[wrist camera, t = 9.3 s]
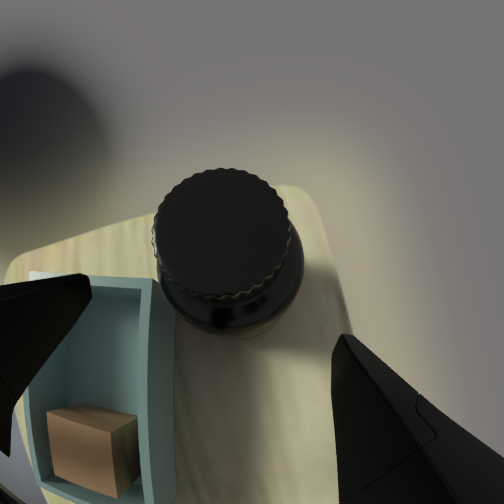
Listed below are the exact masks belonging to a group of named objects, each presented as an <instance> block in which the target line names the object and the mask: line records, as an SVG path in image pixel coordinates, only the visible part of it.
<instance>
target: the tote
mask: <svg viewBox="0 0 504 504" xmlns="http://www.w3.org/2000/svg"><path fill="white" fill-rule="evenodd" d="M64 275H71V274H60V273H46V272H33V271H30V276H29V281H32V280H39V279H45V278H51V277H58V276H64ZM87 276H88V277H89V279H90V284H91V290H92V299H91V301H90V303H89V304H88V306H87V307H86V309H85V310H84V312H83V313H82V315H81V316H80V318H79V319H78V321H77V322H76V324H75V325H74V327H73V328H72V329H71V331H70V332H69V333H68V334H67V335H66V337H65V338H64V339H63V340H62V342H61V343H60V344H59V346H58V347H57V348H56V349H55V351H54V352H53V353H52V355H51V356H50V357H49V358H48V360H47V361H46V362H45V364H44V365H43V366H42V368H41V369H40V370H39V372H38V373H37V374H36V376H35V377H34V379H33V380H32V381H31V383H30V384H29V386H28V387H27V388H26V390H25V391H24V393H23V400H24V412H25V422H26V430H27V437H28V444H29V450H30V455H31V461H32V465H33V470H34V475H35V479H36V483H37V485H38V486H40V487H42V488H44V489H46V490H48V491H50V492H52V493H54V494H56V495H58V496H61V497H63V498H65V499H67V500H69V501H72V502H74V503H76V504H172V503H173V501H174V499H175V497H176V495H177V482H176V466H175V444H174V347H175V323H176V313H175V311H174V310H173V309H172V308H171V307H170V305H169V304H168V302H167V301H166V299H165V297H164V295H163V293H162V290H161V288H160V284H159V283H158V282H157V281H155V280H154V279H148V278H126V277H107V276H90V275H87ZM80 403H87V404H91V405H94V406H98V407H102V408H106V409H110V410H115V411H119V412H123V413H128V414H133V415H138V437H139V452H140V465H141V475H140V476H139V477H138V478H137V480H136V481H135V482H134V483H133V484H132V485H131V486H130V487H129V488H128V489H127V490H126V491H125V492H124V493H123V494H122V495H121V496H120V497H119V498H118V499H117V498H114V497H110V496H107V495H104V494H101V493H98V492H96V491H93V490H90V489H87V488H85V487H82V486H80V485H77V484H75V483H72V482H70V481H68V480H65V479H63V478H61V477H58V476H56V475H55V473H54V468H53V462H52V456H51V449H50V442H49V434H48V424H47V411H52V410H56V409H60V408H64V407H69V406H73V405H76V404H80Z"/></svg>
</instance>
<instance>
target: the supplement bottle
mask: <svg viewBox="0 0 504 504" xmlns="http://www.w3.org/2000/svg"><path fill="white" fill-rule="evenodd" d="M152 234H153V238H152V245H153V247H154V256H155V257H156V258H157V276H158V281H159V284H160V288H161V290H162V293H163V295H164V297H165V299H166V301H167V302H168V304H169V305H170V307H171V308H172V309H173V310H174V311H175V313H176V314H177V315H178V316H180V317H181V318H182V319H183V320H184V321H186V322H187V323H188V324H190V325H192V326H193V327H195V328H197V329H199V330H201V331H204V332H207V333H210V334H213V335H216V336H220V337H223V338H228V339H234V340H243V339H250V338H253V337H256V336H259V335H261V334H263V333H265V332H266V331H268V330H269V329H270V328H271V327H273V326H274V325H275V324H276V323H277V321H278V320H279V319H280V318H281V316H282V315H283V314H284V313H285V312H286V310H287V309H288V308H289V306H290V305H291V303H292V302H293V300H294V299H295V297H296V295H297V293H298V290H299V288H300V285H301V282H302V278H303V272H304V253H303V247H302V243H301V240H300V237H299V235H298V233H297V231H296V229H295V227H294V225H293V224H292V222H291V221H290V220H289V218H288V211H287V209H286V208H285V207H284V203H283V200H282V199H281V198H280V197H279V196H278V195H277V192H276V190H275V189H273V188H272V187H270V186H269V184H268V183H267V182H266V181H264V180H261V179H259V177H257V175H254V174H249V173H248V172H246V171H245V170H236V169H234V168H229V169H224V168H218V169H215V170H206V171H204V172H203V173H195V174H194V175H193V176H192V177H190V178H187V179H184V180H183V181H182V182H181V183H180V184H178V185H176V186H174V188H173V189H172V191H171V192H170V193H169V194H167V195H166V196H165V198H164V201H163V202H162V203H161V204H160V205H159V207H158V213H157V214H156V215H155V217H154V225H153V227H152Z"/></svg>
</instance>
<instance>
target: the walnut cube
mask: <svg viewBox="0 0 504 504" xmlns="http://www.w3.org/2000/svg"><path fill="white" fill-rule="evenodd" d="M47 424H48V434H49V442H50V449H51V456H52V462H53V468H54V473H55V475H56V476H58V477H61V478H63V479H65V480H68V481H70V482H72V483H75V484H77V485H80V486H82V487H85V488H87V489H90V490H93V491H96V492H98V493H101V494H104V495H107V496H110V497H114V498H117V499H118V498H119V497H120V496H121V495H122V494H123V493H124V492H125V491H126V490H127V489H128V488H129V487H130V486H131V485H132V484H133V483H134V482H135V481H136V480H137V478H138V477H139V476H140V475H141V465H140V452H139V437H138V415H133V414H128V413H123V412H119V411H115V410H110V409H106V408H102V407H98V406H94V405H91V404H87V403H80V404H76V405H73V406H69V407H64V408H60V409H56V410H52V411H47Z"/></svg>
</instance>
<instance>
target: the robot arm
mask: <svg viewBox="0 0 504 504" xmlns="http://www.w3.org/2000/svg"><path fill="white" fill-rule="evenodd" d="M91 299H92V290H91V284H90V279H89V277H88V276H87V275H84V274H81V273H77V274H71V275H64V276H58V277H51V278H45V279H39V280H32V281H26V282H19V283H13V284H7V285H0V451H2V452H3V453H4V454H5V455H6V456H8V457H9V456H10V447H11V426H12V414H13V410H14V407H15V405H16V403H17V401H18V400H19V398H20V397H21V396H22V394H23V393H24V391H25V390H26V388H27V387H28V386H29V384H30V383H31V381H32V380H33V379H34V377H35V376H36V374H37V373H38V372H39V370H40V369H41V368H42V366H43V365H44V364H45V362H46V361H47V360H48V358H49V357H50V356H51V355H52V353H53V352H54V351H55V349H56V348H57V347H58V346H59V344H60V343H61V342H62V340H63V339H64V338H65V337H66V335H67V334H68V333H69V332H70V331H71V329H72V328H73V327H74V325H75V324H76V322H77V321H78V319H79V318H80V316H81V315H82V313H83V312H84V310H85V309H86V307H87V306H88V304H89V303H90V301H91ZM331 399H332V409H333V419H334V430H335V442H336V455H337V471H338V489H339V502H340V503H339V504H504V457H502V456H501V455H499V454H498V453H496V452H495V451H494V450H492V449H491V448H490V447H488V446H487V445H486V444H484V443H482V442H481V441H480V440H479V439H477V438H476V437H475V436H473V435H472V434H471V433H469V432H468V431H466V430H465V429H464V428H462V427H461V426H460V425H458V424H457V423H456V422H454V421H453V420H452V419H450V418H449V417H448V416H446V415H445V414H444V413H442V412H441V411H440V410H439V409H437V408H436V407H435V406H434V405H433V404H431V403H430V402H429V401H428V400H427V399H426V398H424V397H423V396H422V395H421V394H419V395H418V392H417V391H416V390H415V389H414V388H412V387H411V386H410V385H409V384H408V383H407V382H406V381H405V380H403V379H402V378H401V377H400V376H399V375H398V374H397V373H396V372H394V371H393V370H392V369H391V368H390V367H389V366H388V365H386V364H385V363H384V362H383V361H382V360H381V359H380V358H378V357H377V356H376V355H375V354H374V353H373V352H372V351H370V350H369V349H368V348H367V347H366V346H365V345H364V344H362V343H361V342H360V341H359V340H358V339H357V338H356V337H355V336H353V335H350V334H341V335H340V337H339V339H338V341H337V343H336V345H335V347H334V350H333V352H332V358H331ZM0 504H26V503H24V502H23V501H22V500H20V499H19V498H18V497H16V496H15V495H14V494H13V493H12V492H10V491H9V490H8V489H7V488H6V487H4V486H3V485H2V484H1V483H0Z"/></svg>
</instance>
